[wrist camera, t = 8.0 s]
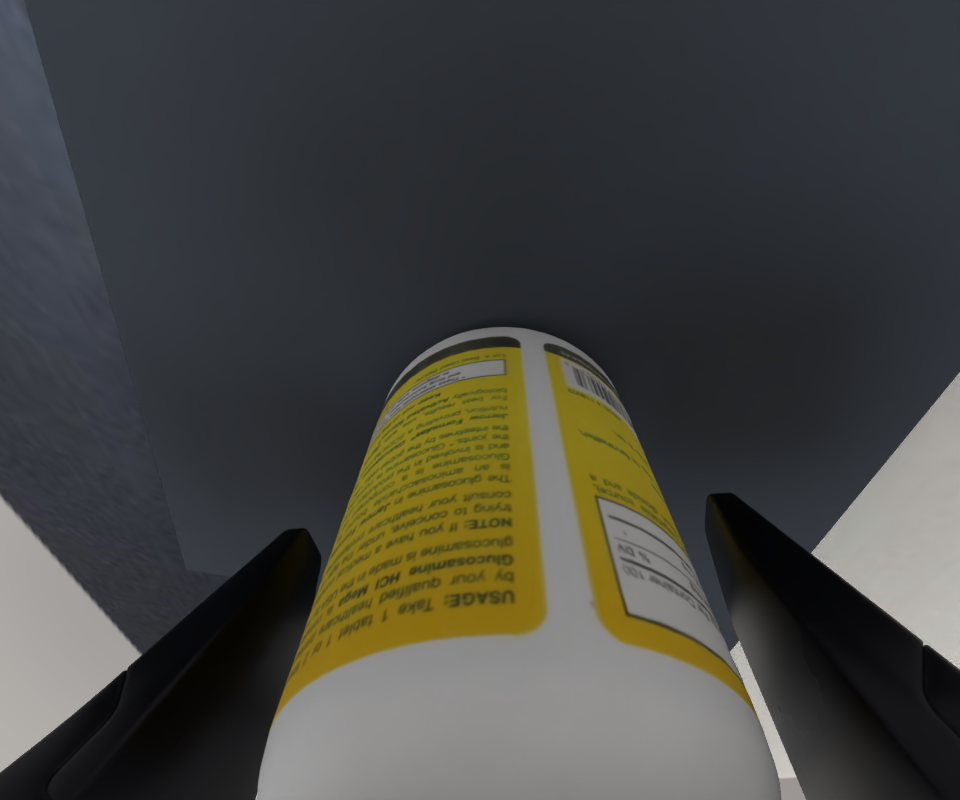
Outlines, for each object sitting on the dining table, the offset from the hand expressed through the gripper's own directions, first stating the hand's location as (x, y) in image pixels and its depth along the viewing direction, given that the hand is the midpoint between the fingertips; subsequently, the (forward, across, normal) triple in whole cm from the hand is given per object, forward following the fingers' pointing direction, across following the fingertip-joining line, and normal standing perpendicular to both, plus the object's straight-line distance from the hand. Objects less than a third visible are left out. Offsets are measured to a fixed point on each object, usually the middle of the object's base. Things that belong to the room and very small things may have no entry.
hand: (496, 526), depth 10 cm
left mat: (+4, 0, -1) cm, 4 cm away
